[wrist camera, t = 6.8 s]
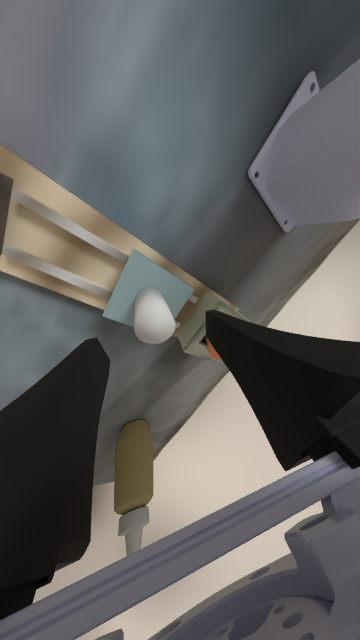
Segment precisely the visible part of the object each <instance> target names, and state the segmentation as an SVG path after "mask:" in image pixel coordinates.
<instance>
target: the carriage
mask: <svg viewBox="0 0 360 640" xmlns="http://www.w3.org/2000/svg"><path fill="white" fill-rule="evenodd" d="M193 291H194V289H193V288H192V287H191V286H190V285H189V284H188V283H186V282H185V281H183V280H182V279H180V278H178V277H177V276H175V275H174V274H172V273H171V272H169V271H168V270H166V269H164V268H163V267H161V266H160V265H158V264H157V263H155V262H154V261H152V260H150V259H149V258H147V257H146V256H144V255H143V254H141V253H140V252H138V251H136V250H135V249H133V250H132V252H131V254H130V257H129V259H128V261H127V263H126V265H125V267H124V270H123V272H122V274H121V276H120V278H119V280H118V283H117V285H116V287H115V289H114V291H113V293H112V296H111V298H110V300H109V302H108V304H107V306H106V309H105V311H104V313H103V315H102V316H103V317H106V318H109V319H112V320H115V321H117V322H120V323H123V324H126V325H129V326H131V327H134V331H135V334H136V336H137V337H138V338H139V339H140V340H141V341H143V342H145V343H148V344H159V343H162V342H164V341H166V340H168V339H169V338H170V337H171V336H172V334H173V333H174V331H175V321H174V319H175V318H176V316H177V315H178V313H179V312H180V310H181V309H182V307H183V306H184V304H185V303H186V301H187V300H188V298H189V297H190V295H191V294H192V292H193Z"/></svg>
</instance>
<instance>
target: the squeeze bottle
mask: <svg viewBox="0 0 360 640" xmlns="http://www.w3.org/2000/svg"><path fill="white" fill-rule="evenodd" d="M114 485H115V486H114V488H115V489H114V511H115V512H116V513H117V514H121V515H123V516H121V517H120V519H119V529H118V536H123V535H125V541H126V552H127V556H129V555H131V554H133V553H134V552H136V551H138V550H140V549H141V539H142V530H143V527H144V526H145V525H147V524H148V523H149V509H148V507H147V506H146V505H147V504H148V502H150V500H151V498H152V496H153V437H152V435H151V432H150V429H149V427H148V424H147V422H146V421H144V420H136V421H132V422H129V423H128V424H126V425H125V426H124V427H123V429H122V431H121V434H120V437H119V440H118V443H117V445H116V449H115V484H114Z"/></svg>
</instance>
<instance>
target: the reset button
mask: <svg viewBox="0 0 360 640" xmlns="http://www.w3.org/2000/svg"><path fill="white" fill-rule="evenodd" d="M204 338H205V339H206V341H207V350H208V352H209V354H210V355H211V357H212V358H214V359H221V358H220V356H219V355H218V354H217V352H216V351H215V349H214V348H213V347H212V345H211V343H210V341H209V340H208V338H207V336H206V334H205V335H204Z"/></svg>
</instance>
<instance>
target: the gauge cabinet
mask: <svg viewBox="0 0 360 640" xmlns="http://www.w3.org/2000/svg"><path fill="white" fill-rule="evenodd" d="M213 309H214V310H217V311H220V312H223V313H226V314H228V315H231V316H234V317H236V318H239V319H242V320H245V321H248V322H251V321H250V320H248V319H247V318H246V317H244V316H243V315H241V314H240V313H239V312H237V311H236V310H234V309H233V308H232V307H230V306H228V305H227V304H225V303H224V302H222V301H221V300H219V299H218V298H216V297H215V296H213V295H212V294H210V293H209V292H207V293H206V294H205V295H204V297H203V298H202V300H201V301H200V302H199V304H198V305H197V307H196V308H195V310H194V311H193V312H192V314H191V315H190V317H189V318H188V320H187V321H186V322H185V324H184V325H183V327H182V328H181V329H180V331H179V332H178V334H177V336H178V338H179V341H180V343H181V346H182V348H183V350H184V352H185V353H188V354H192V355H195V356H198V357H201V358H204V359H207V360H210V361H213V362H215V361H216V360H217V359H214V358H212V357H211V355H210V354H209V352H208V350H207V341H206V340H205V341H204V342H203V341H201V339H202V338H203V337H204V335H205V334H206V317H205V311H209V310H213Z"/></svg>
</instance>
